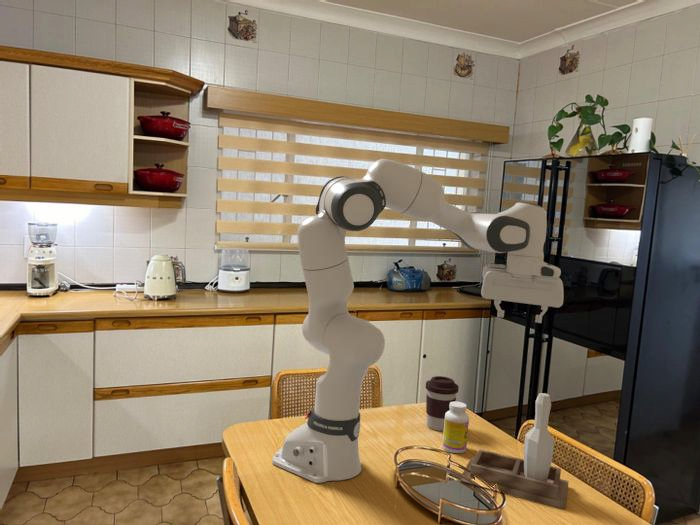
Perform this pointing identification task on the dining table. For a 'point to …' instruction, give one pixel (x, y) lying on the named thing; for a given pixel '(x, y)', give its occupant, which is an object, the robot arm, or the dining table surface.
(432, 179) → the robot arm
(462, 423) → the supplement bottle
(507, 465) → the slot rack
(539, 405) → the low poly bottle
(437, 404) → the coffee cup
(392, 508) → the dining table surface
